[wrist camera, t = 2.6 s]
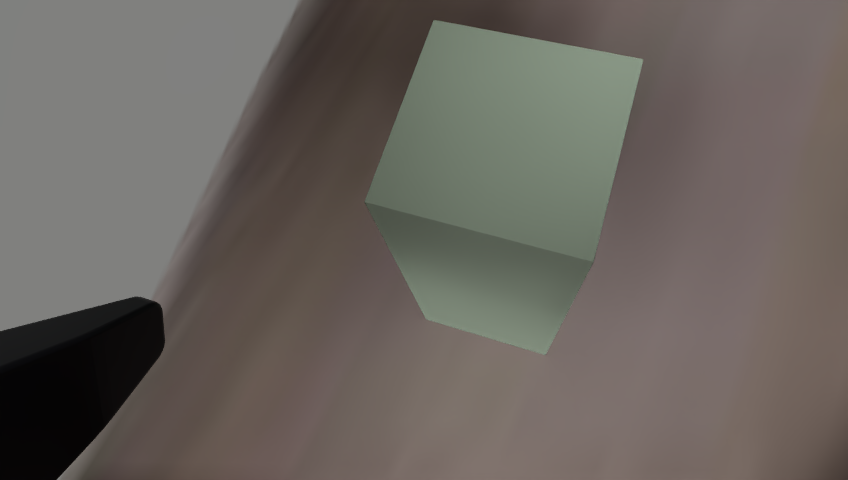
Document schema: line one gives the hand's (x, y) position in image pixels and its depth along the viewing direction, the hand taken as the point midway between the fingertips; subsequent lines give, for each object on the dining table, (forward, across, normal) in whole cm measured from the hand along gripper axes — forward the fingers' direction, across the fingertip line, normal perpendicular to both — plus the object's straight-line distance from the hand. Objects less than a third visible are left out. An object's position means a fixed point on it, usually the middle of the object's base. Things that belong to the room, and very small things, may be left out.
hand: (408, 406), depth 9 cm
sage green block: (+13, 0, +5) cm, 13 cm away
